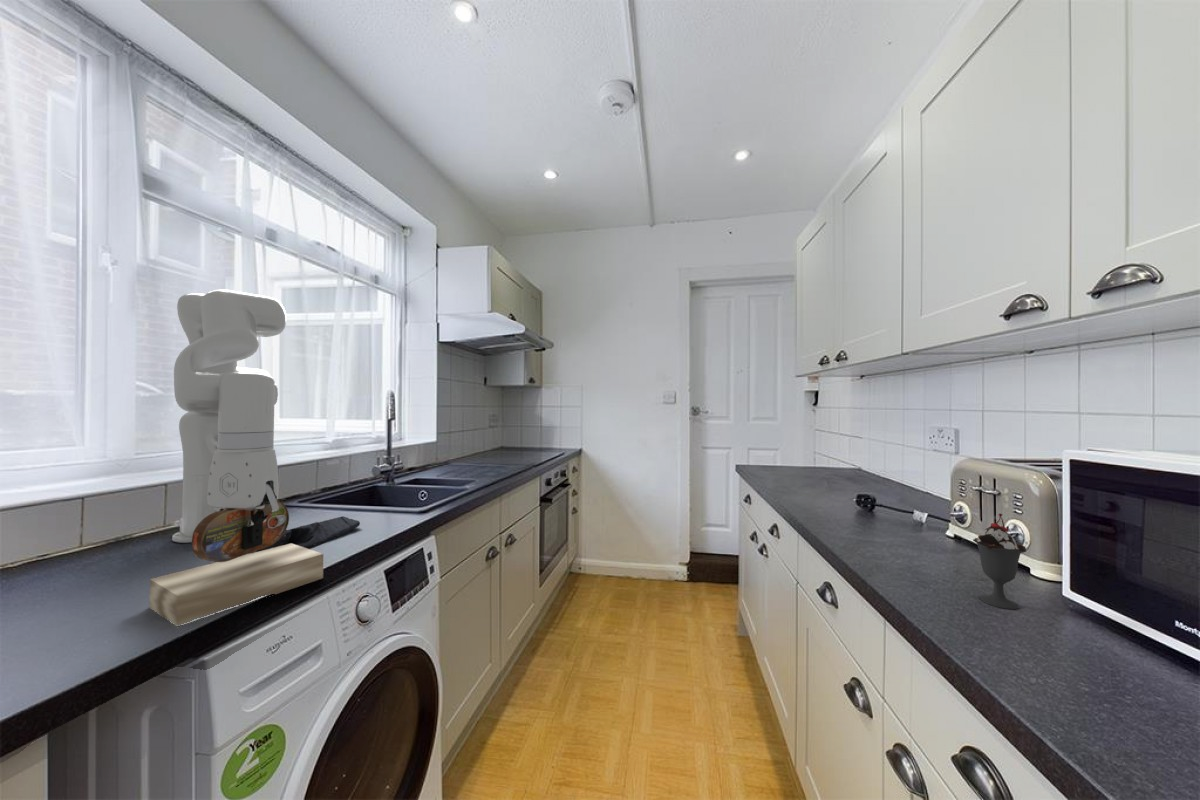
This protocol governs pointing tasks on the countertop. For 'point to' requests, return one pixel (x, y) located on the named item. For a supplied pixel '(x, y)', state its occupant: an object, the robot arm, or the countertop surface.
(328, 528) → the dark slate chunk
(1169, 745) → the countertop surface
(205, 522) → the tin
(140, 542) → the countertop surface
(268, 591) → the birch block
